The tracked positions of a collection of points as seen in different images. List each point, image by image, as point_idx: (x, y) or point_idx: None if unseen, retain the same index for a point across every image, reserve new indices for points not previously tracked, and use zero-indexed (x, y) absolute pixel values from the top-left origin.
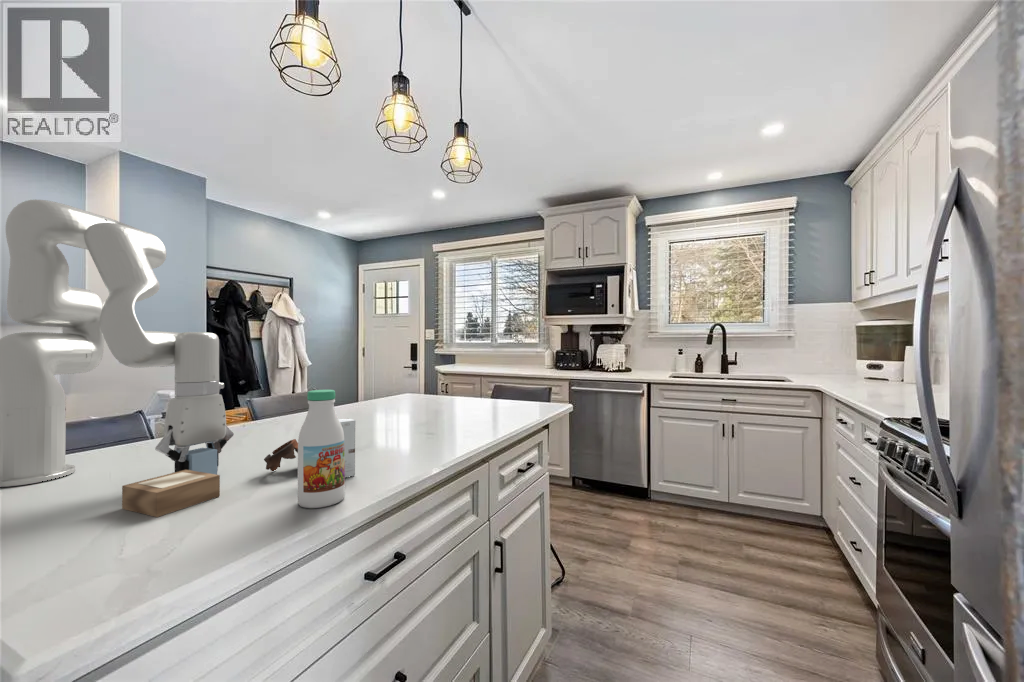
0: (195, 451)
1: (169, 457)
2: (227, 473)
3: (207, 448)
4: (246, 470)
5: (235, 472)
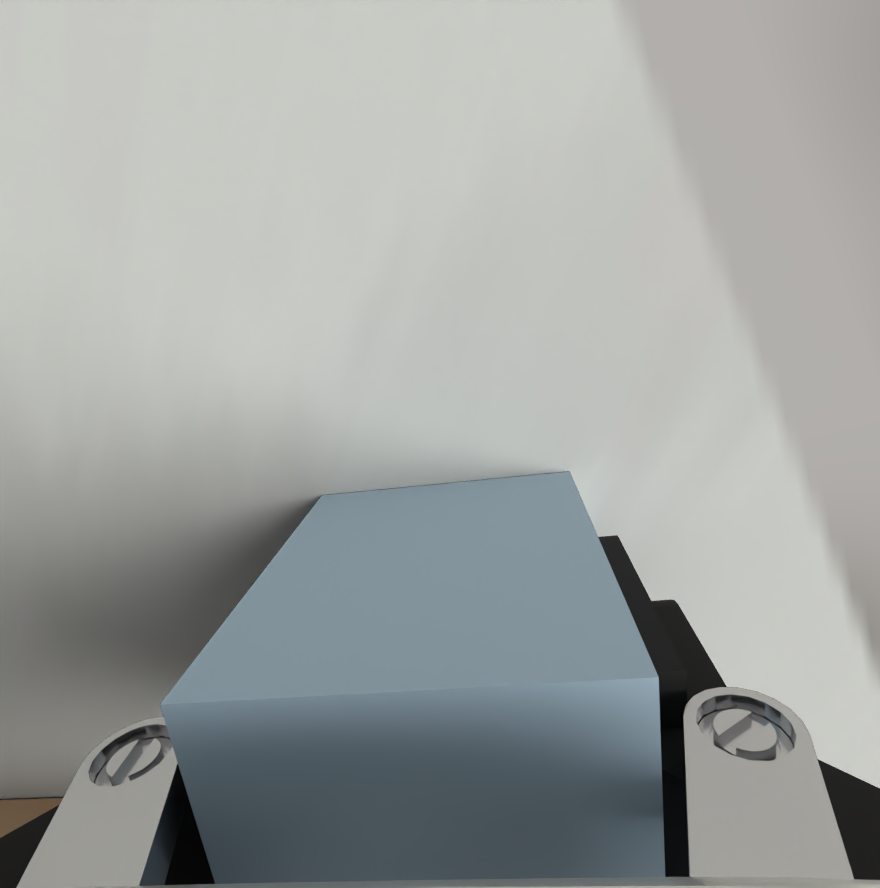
0: (403, 875)
1: (26, 833)
2: (714, 646)
3: (649, 840)
4: (863, 712)
5: (769, 682)
